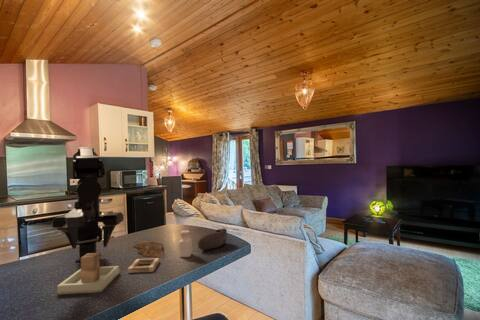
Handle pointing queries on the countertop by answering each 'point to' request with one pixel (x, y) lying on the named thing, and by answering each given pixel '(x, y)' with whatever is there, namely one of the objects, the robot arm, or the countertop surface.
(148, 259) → the birch stand
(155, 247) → the wooden fragment
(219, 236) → the perforated stone tool
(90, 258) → the wooden block
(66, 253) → the countertop surface
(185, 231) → the pepper shaker
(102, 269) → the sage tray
